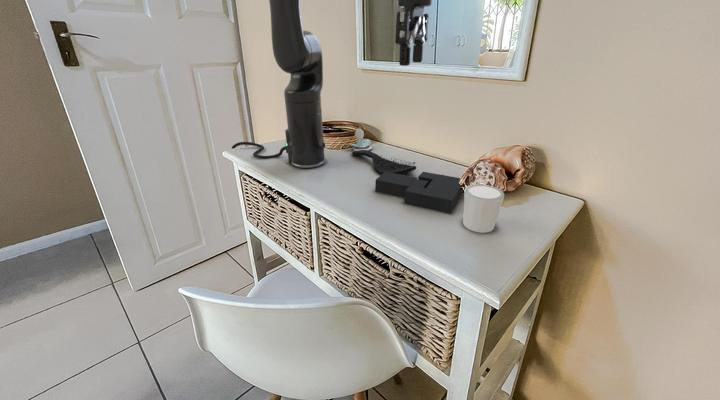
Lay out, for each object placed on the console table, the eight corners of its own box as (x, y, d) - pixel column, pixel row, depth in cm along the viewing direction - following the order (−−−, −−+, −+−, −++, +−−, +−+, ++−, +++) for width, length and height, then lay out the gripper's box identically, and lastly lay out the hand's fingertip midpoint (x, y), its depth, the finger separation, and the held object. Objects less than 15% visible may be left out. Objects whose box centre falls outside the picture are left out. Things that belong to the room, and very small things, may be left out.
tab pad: (375, 191, 76) (375, 179, 75) (384, 182, 81) (385, 171, 79) (421, 201, 72) (422, 188, 70) (428, 191, 76) (429, 179, 75)
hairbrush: (364, 141, 101) (424, 160, 82) (364, 153, 103) (423, 174, 84) (341, 147, 97) (399, 168, 78) (342, 159, 98) (399, 182, 80)
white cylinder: (503, 223, 63) (510, 190, 60) (488, 238, 59) (495, 204, 56) (469, 212, 67) (474, 180, 64) (453, 225, 63) (457, 192, 60)
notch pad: (404, 203, 71) (404, 190, 70) (422, 182, 81) (422, 171, 79) (450, 213, 67) (452, 200, 66) (463, 190, 76) (465, 178, 75)
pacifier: (376, 150, 103) (365, 144, 108) (377, 130, 100) (365, 125, 105) (356, 154, 100) (346, 149, 104) (357, 134, 97) (346, 129, 101)
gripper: (410, -15, 77) (406, 61, 84) (385, -22, 66) (383, 66, 73) (442, -17, 74) (435, 61, 81) (422, -25, 63) (416, 67, 70)
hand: (411, 63), depth 77 cm, fingers open, 8 cm apart
